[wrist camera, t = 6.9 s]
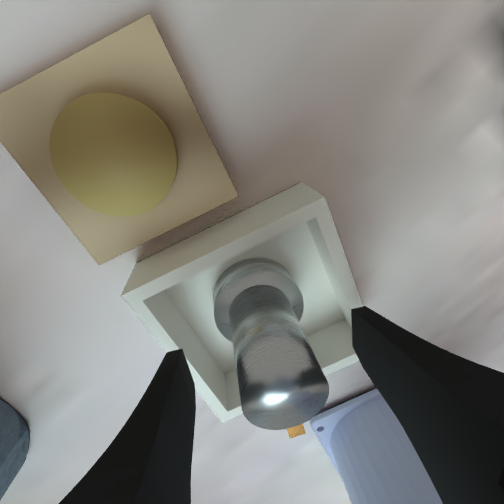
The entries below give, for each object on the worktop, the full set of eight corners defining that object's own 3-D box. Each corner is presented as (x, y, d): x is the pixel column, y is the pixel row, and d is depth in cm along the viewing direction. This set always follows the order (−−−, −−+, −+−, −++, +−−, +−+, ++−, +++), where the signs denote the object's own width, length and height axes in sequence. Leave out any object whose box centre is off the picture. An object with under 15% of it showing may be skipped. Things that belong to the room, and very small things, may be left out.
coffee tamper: (285, 246, 15) (339, 328, 9) (302, 314, 17) (355, 419, 11) (201, 272, 15) (200, 373, 9) (227, 338, 17) (240, 457, 11)
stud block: (236, 191, 14) (240, 200, 12) (105, 256, 14) (93, 273, 13) (154, 22, 11) (145, 5, 9) (-8, 109, 11) (-44, 107, 10)
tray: (353, 317, 18) (379, 351, 15) (219, 378, 19) (222, 422, 16) (302, 181, 14) (324, 196, 12) (135, 263, 15) (120, 296, 12)
